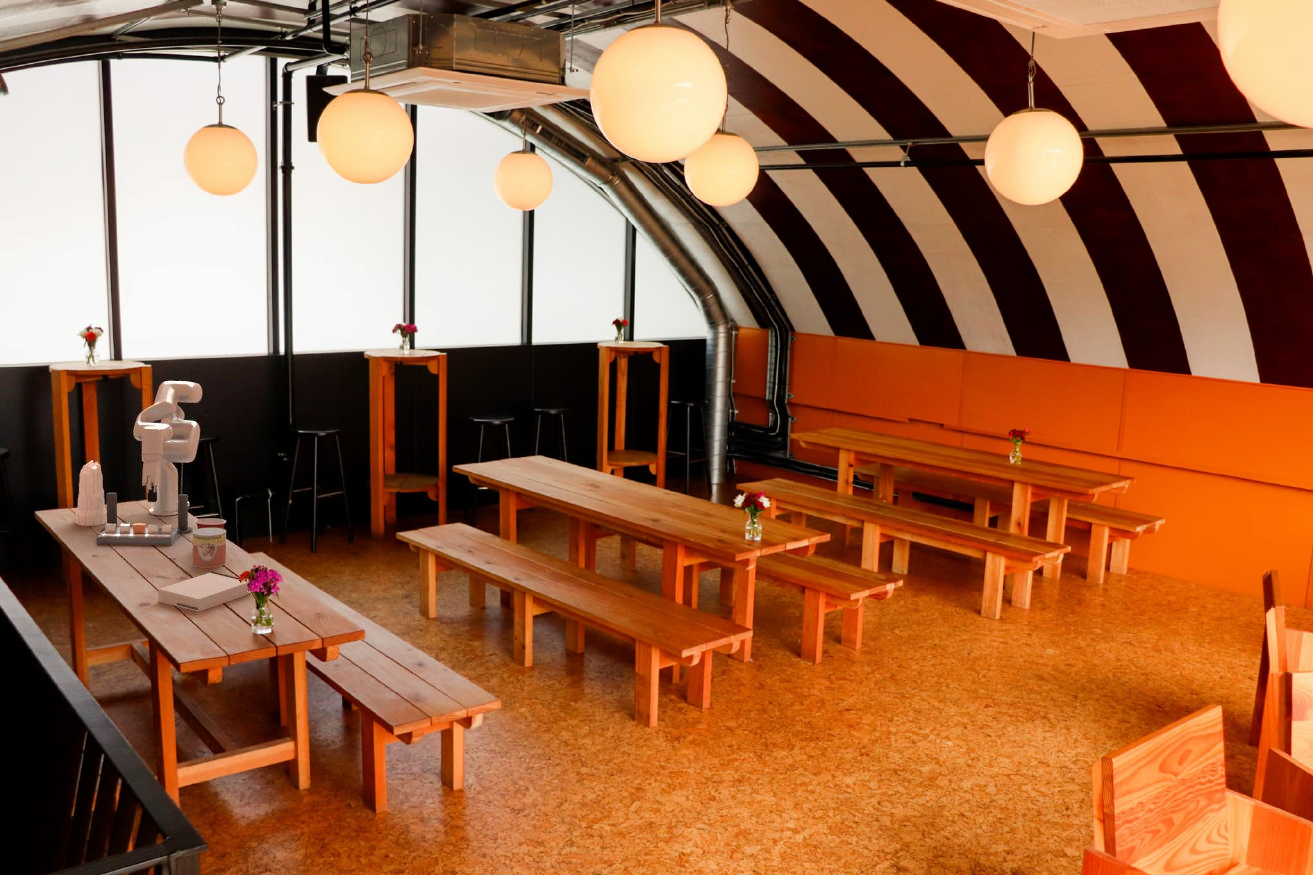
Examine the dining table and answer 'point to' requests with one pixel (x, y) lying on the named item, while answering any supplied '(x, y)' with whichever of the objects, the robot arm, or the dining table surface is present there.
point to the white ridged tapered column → (91, 496)
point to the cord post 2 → (183, 514)
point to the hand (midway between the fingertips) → (152, 501)
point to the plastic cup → (210, 523)
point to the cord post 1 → (111, 509)
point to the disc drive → (203, 591)
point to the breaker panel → (138, 535)
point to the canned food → (209, 547)
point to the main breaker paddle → (139, 527)
